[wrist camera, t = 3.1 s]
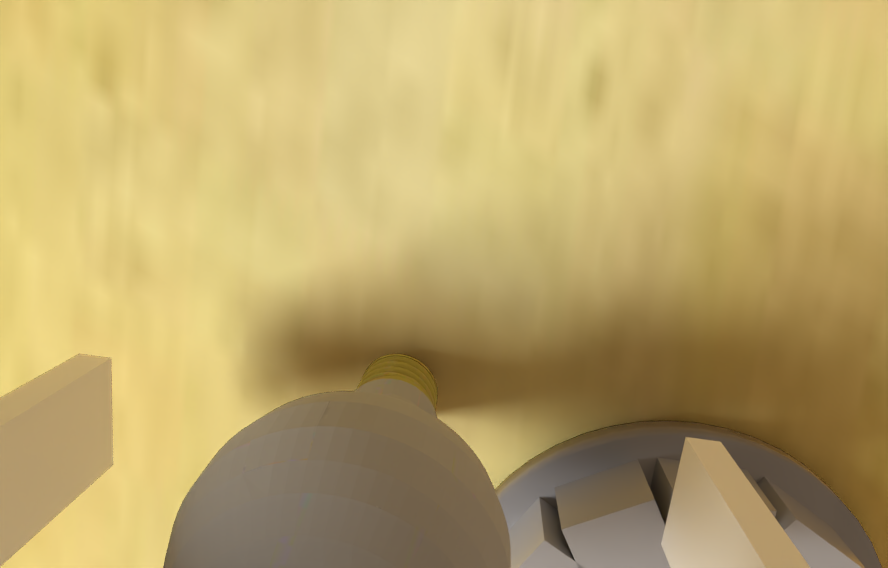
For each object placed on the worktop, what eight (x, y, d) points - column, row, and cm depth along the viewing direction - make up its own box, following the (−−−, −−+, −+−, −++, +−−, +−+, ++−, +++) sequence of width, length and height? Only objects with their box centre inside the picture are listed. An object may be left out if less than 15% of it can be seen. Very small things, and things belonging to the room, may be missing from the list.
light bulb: (349, 494, 18) (195, 909, 9) (272, 324, 17) (-3, 589, 8) (530, 440, 18) (577, 834, 8) (462, 258, 16) (421, 463, 7)
